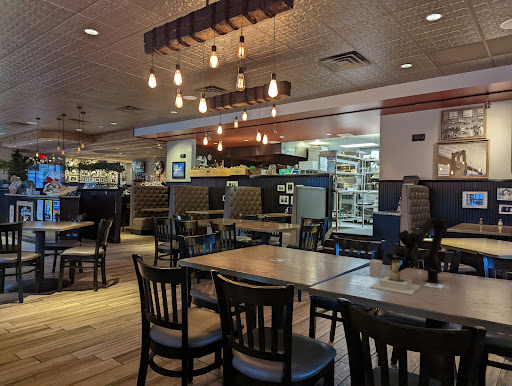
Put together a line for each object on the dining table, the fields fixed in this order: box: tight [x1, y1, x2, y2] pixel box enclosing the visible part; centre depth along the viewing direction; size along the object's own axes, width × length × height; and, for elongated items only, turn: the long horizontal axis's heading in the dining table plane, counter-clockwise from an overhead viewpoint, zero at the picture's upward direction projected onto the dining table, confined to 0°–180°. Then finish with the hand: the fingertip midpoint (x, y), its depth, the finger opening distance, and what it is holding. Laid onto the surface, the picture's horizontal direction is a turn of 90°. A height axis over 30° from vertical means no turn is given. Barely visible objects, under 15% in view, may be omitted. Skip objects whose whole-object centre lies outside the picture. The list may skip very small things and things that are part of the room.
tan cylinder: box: [391, 260, 402, 282], centre depth 201 cm, size 5×5×12 cm
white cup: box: [369, 259, 383, 278], centre depth 229 cm, size 8×8×10 cm
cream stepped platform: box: [369, 275, 422, 296], centre depth 202 cm, size 24×22×4 cm
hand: (394, 270), depth 201 cm, fingers closed on tan cylinder, 5 cm apart
